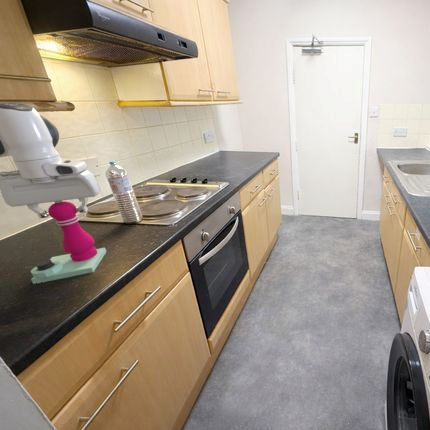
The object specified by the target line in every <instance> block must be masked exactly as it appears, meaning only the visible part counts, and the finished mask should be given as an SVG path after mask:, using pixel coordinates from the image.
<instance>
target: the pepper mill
mask: <svg viewBox="0 0 430 430" xmlns="http://www.w3.org/2000/svg"><path fill="white" fill-rule="evenodd" d="M47 211H48V213H49V217H51V218H52V219H54V220H55V221H54V222H55V223H56V225H57V226H59V227H60V228H61V230H62V232H63V239H62V248H63V250H64V252H66V253H67V254H71V255H70V257H71V259H72V261H74V262H80V261H85V260H88V259H90V258H92V257H94V256H95V255H96V254H97V250H96V249H97V247H95V242H96V241H95V239H94V238H93V236H92V235H91V234H89V233H88V232H87V231H85V230H84V229H83V228H82V227H81V225H80V223H79V221H80V218H79V215H78V214H77V212H78V207H76V205H75V204H74V203H72V202H71V201H67V200H63V201H55V202H53V203H52V204H51V205H49V207H48V210H47Z"/></svg>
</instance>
